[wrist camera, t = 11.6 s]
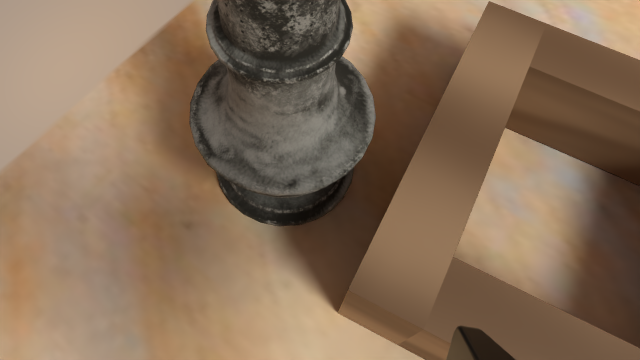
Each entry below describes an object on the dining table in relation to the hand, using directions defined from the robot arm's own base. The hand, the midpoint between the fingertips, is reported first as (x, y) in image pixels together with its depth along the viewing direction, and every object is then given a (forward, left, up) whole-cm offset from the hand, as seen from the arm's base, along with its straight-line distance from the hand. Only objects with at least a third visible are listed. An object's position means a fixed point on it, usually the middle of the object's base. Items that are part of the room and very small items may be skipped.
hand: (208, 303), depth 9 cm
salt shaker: (+5, +5, -8) cm, 10 cm away
